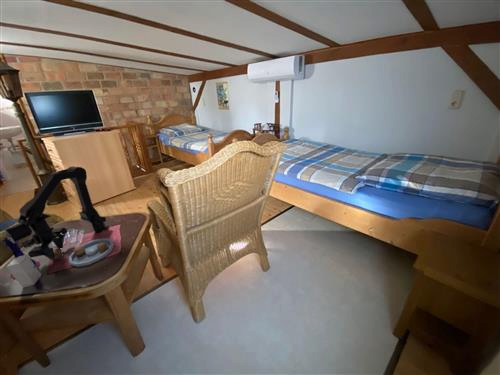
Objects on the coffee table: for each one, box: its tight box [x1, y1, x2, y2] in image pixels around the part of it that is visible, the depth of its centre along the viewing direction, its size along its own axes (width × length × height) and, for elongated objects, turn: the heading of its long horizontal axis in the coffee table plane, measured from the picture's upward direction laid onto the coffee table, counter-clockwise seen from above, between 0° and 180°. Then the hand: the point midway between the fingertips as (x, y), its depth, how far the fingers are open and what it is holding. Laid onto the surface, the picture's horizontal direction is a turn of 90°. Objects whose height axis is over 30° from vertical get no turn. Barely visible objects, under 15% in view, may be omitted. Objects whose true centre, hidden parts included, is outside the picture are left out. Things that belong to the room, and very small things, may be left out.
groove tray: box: [68, 237, 115, 268], centre depth 104 cm, size 18×18×3 cm
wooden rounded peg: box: [97, 242, 108, 253], centre depth 104 cm, size 4×4×4 cm
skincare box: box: [6, 254, 42, 288], centre depth 88 cm, size 6×4×12 cm
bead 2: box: [72, 245, 86, 257], centre depth 102 cm, size 4×4×4 cm
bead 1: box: [53, 247, 64, 260], centre depth 104 cm, size 4×4×4 cm
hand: (57, 254), depth 104 cm, fingers open, 6 cm apart
